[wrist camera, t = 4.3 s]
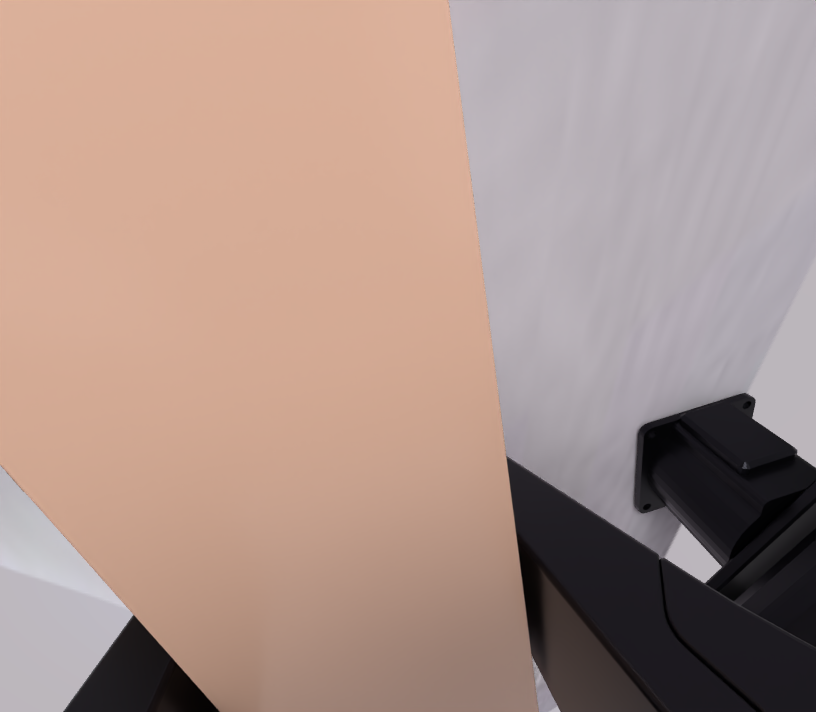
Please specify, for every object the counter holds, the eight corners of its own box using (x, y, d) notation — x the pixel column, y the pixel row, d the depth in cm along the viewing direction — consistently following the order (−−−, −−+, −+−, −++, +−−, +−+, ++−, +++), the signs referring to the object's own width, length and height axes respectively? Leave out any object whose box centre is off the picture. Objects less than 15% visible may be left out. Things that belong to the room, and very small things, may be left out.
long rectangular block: (479, 620, 12) (551, 818, 9) (351, 664, 12) (376, 888, 9) (329, -61, 5) (403, -361, 2) (12, 4, 5) (-601, -213, 2)
